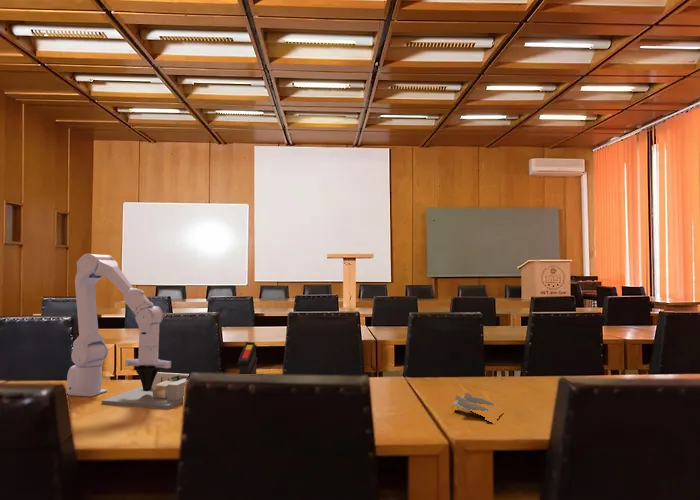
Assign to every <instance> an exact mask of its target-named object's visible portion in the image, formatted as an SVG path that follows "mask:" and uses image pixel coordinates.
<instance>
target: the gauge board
mask: <svg viewBox="0 0 700 500" xmlns="http://www.w3.org/2000/svg"><path fill="white" fill-rule="evenodd" d="M189 374H190V373H176V372H175V373H174V372H161V371H160V372H159V371H158V372H157V374H156V376H155V378H154V381H153V384H152V388H151V390H150V391H143V386H142V385H141V386H140V387H136V388H133V389H131V390H127V391H125V392H122V393H119V394H116V395H114V396H110V397H108V398H105V399H102V400H101V405H108V406H109V405H110V406H111V405H112V406H122V407H123V406H127V407H137V408H149V409H151V408H152V409H161V410H162V409H164V410H165V409H166V410H169V409H171V408H174V407H176V406H177V405H180V404H182V403H184V402H183V396H184V386H185V381H186V379H187V378H188V376H189ZM176 375H179V380H178V381H177V378H174V379H171V377H174V376H176ZM164 381H176V382H173V383H170V384H168V392H167V397H166V398H156V397H153V385H156V384H158V383H161V382H164Z"/></svg>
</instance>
